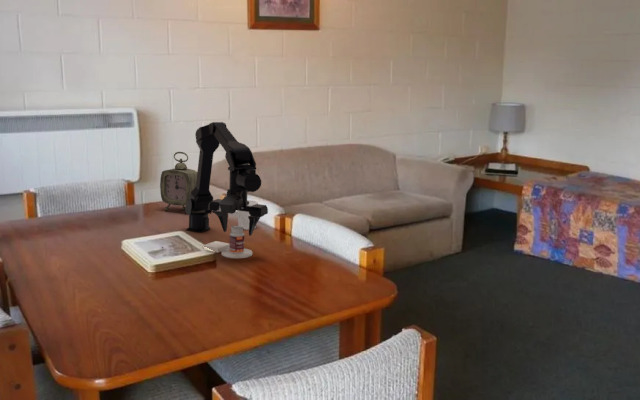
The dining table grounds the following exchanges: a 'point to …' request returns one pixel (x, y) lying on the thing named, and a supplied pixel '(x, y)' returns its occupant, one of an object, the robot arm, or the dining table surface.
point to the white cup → (245, 216)
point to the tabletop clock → (177, 184)
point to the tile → (217, 246)
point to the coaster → (230, 255)
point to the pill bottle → (236, 240)
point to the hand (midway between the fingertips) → (237, 233)
